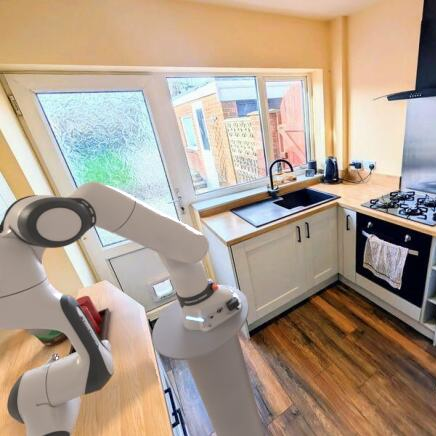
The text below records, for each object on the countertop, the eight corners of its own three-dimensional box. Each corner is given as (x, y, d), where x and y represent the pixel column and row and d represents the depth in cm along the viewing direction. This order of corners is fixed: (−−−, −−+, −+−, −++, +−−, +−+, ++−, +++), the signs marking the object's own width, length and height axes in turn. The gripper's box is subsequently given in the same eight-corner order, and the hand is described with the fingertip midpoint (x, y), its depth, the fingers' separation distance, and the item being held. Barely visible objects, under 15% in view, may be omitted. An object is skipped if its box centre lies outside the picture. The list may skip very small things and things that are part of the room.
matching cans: (102, 316, 102) (90, 293, 98) (99, 336, 93) (85, 312, 88) (87, 322, 100) (73, 299, 95) (82, 343, 90) (66, 319, 85)
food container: (50, 353, 89) (36, 333, 85) (40, 349, 91) (25, 330, 87) (85, 326, 99) (74, 307, 95) (75, 323, 101) (64, 304, 97)
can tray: (110, 312, 105) (107, 307, 104) (106, 351, 87) (103, 345, 86) (81, 324, 101) (78, 319, 100) (70, 367, 83) (66, 361, 81)
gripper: (104, 355, 70) (108, 324, 81) (7, 399, 61) (26, 358, 72) (113, 370, 73) (115, 338, 84) (21, 414, 64) (38, 371, 75)
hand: (74, 347), depth 78 cm, fingers open, 8 cm apart
